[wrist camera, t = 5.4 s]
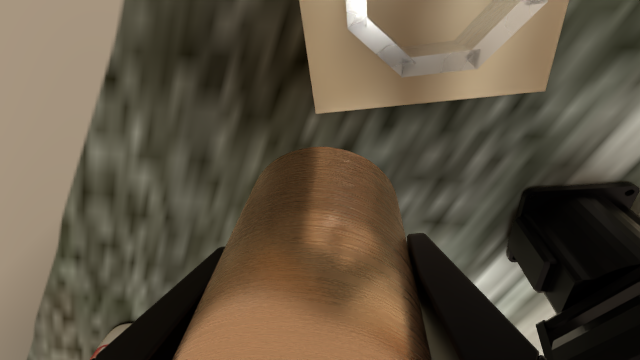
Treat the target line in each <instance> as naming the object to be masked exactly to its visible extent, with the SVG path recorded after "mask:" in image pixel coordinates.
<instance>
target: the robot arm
mask: <svg viewBox="0 0 640 360" xmlns="http://www.w3.org/2000/svg"><path fill="white" fill-rule="evenodd" d="M638 193H639V188H638V187H637V186H635V185H634V184H632V183H612V184H595V185H578V186H561V187H544V188H531V189H528V190H526V191H525V192H524V193H523V195H522V199H521V203H520V206H519V210H518V214H517V217H516V218H515V219H514V222H513V225H512V229H511V233H510V237H509V240H508V250H507V257H508V259H509V260H510V261H511V262H518V264H519V265H520V267H521V269H522V270H523V272H524V274H525V275H526V277H527V279H528V280H529V282H530V284H531V286H532V287H533V289H534V290H535V291H537V292H538V293H544V294H545V296H546V297H547V299H548V301H549V302H550V304H551V305H552V307H553V309H554V310H555V312H556V313H557V315H555V316H553V317H552V318H550V319H548V320H547V321H545V320H543V321H541V322H540V323H538V324H536V328H537V332H538V335H539V339H540V342H541V346H542V349H543V353H544V356H542V355H539V351H538V350H537V349H536V348H535V347H534V346H533V345H532V344H531V343H530V342H529V341H528V340H527V339H526V338H525V337H524V336H523V335H522V334H521V333H520V332H519V330H518V329H517V328H516V327H515V326H514V325H513V324H512V323H511V322H510V321H509V320H508V319H507V318H506V317H505V316H504V315H503V314H502V313H501V312H500V311H499V310H498V309H497V308H496V307H495V306H494V305H493V304H492V303H491V302H490V300H489V299H488V298H487V297H486V296H485V295H484V294H483V293H482V292H481V291H480V290H479V289H478V288H477V287H476V286H475V285H474V284H473V283H472V282H471V281H470V280H469V279H468V278H467V277H466V276H465V275H464V274H463V273H462V272H461V271H460V269H459V268H458V267H457V266H456V265H455V264H454V263H453V262H452V261H451V260H450V259H449V258H448V257H447V256H446V255H445V254H444V253H443V252H442V251H441V250H440V249H439V248H438V247H437V246H436V245H435V244H434V243H433V242H432V241H431V239H430V238H429V237H428V236H427V235H426V234H424V233H416V234H409V235H408V236H407V246H408V251H409V256H410V260H411V265H412V270H413V274H414V279H415V284H416V288H417V293H418V298H419V302H420V307H421V311H422V316H423V321H424V325H425V330H426V335H427V339H428V344H429V349H430V353H431V358H432V360H640V217H639V216H638V215H637V214H635V213H634V212H633V211H632V210H630V208H631V206H632V204H633V202H634V200H635V199H636V197H637V195H638ZM532 195H534V196H533V197H531V196H532ZM224 249H225V247H220V248H218V249H217V250H215V251H214V252H213V253H212V254H211V255H210V256H209V257H208V258H206V259H205V260H204V261H203V262H202V263H201V264H200V265H198V266H197V267H196V268H195V269H194V270H193V271H192V272H190V273H189V274H188V275H187V276H186V277H185V278H184V279H182V280H181V281H180V282H179V283H178V284H177V285H176V286H174V287H173V288H172V289H171V290H170V291H169V292H168V293H166V294H165V295H164V296H163V297H162V298H161V299H160V300H158V301H157V302H156V303H155V304H154V305H153V306H152V307H150V308H149V309H148V310H147V311H146V312H145V313H144V314H143V315H141V316H140V317H139V318H138V319H137V320H136V321H135V322H133V323H132V324H131V325H130V326H129V327H128V328H127V329H125V330H124V331H123V332H122V333H121V334H120V335H119V336H117V337H116V338H115V339H114V340H113V341H112V342H111V343H109V344H108V345H107V346H106V347H105V348H104V349H103V350H101V351H100V352H99V353H98V354H97V355H96V358H92V359H91V360H172V359H173V357H174V355H175V353H176V351H177V349H178V347H179V345H180V342H181V340H182V338H183V336H184V334H185V332H186V330H187V328H188V325H189V323H190V321H191V319H192V317H193V315H194V313H195V311H196V308H197V306H198V304H199V302H200V300H201V298H202V296H203V294H204V291H205V289H206V287H207V285H208V283H209V281H210V279H211V277H212V275H213V272H214V270H215V268H216V266H217V264H218V262H219V260H220V258H221V255H222V253H223V251H224Z"/></svg>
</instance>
